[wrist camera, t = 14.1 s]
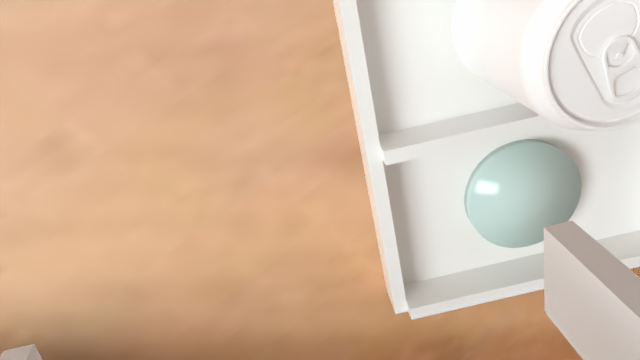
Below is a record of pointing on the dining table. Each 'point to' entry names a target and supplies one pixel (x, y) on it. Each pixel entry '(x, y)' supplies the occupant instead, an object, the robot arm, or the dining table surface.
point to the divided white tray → (460, 160)
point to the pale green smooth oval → (522, 192)
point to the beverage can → (557, 56)
